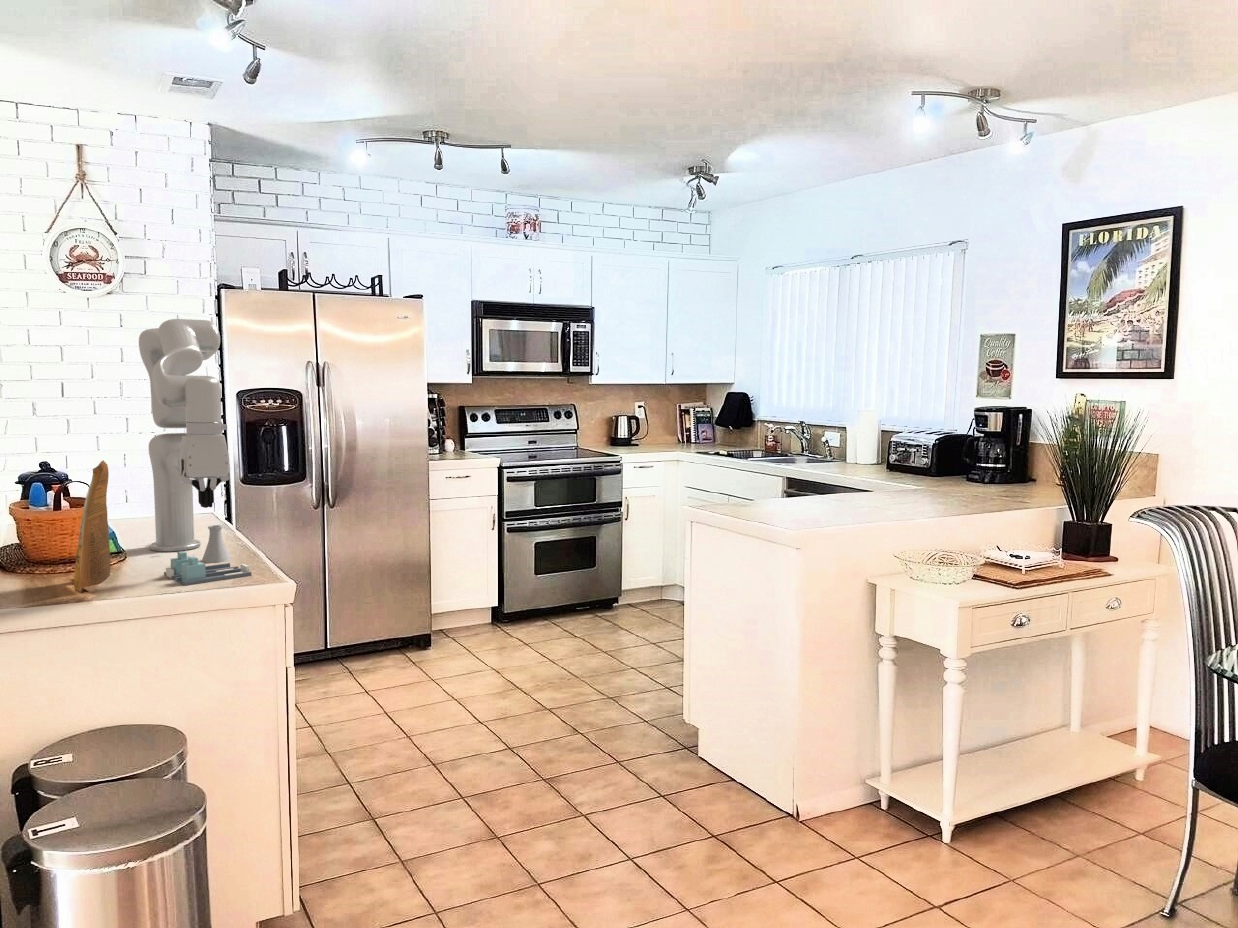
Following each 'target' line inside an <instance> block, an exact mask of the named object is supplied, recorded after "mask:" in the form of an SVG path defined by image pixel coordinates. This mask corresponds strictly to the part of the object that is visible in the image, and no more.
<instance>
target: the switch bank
mask: <svg viewBox="0 0 1238 928" xmlns="http://www.w3.org/2000/svg"><path fill="white" fill-rule="evenodd" d="M205 570H206V578H203V579H196V580H189V581H182V573H181V574H180V575H174V570H173V569H171V567H168V566H167V567H166V568H165V571H163V576H164V577H166V578H168V579H170V580H173V581H174V582H176V583H178V584H181V585H183V586H185V587H188V586H194V585H196V586H197V585H202V584H207V583H213V582H214V583H215V582H221V581H227V580H234V579H240V578H247V577H253V575H252V571H250V566H249V565H247V564H245V563H240V567H239V566H236V565H235V566H231V563H230V562H224V563H219V564H218V563H216V564H212V565H205Z"/></svg>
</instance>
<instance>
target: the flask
mask: <svg viewBox="0 0 1238 928" xmlns="http://www.w3.org/2000/svg"><path fill="white" fill-rule="evenodd" d="M222 528H224V527H223V525H221V524H213V525H209V526H208V527H207V529H208V530H209V536H208V542H207V544H206V548H205V551H204V554H203V556H202V559H201V561H200V562H202V563H205V564H206V563H207V564H214V563H215V564H218V563H219V564H221V563H226V562H229V561H230V560H231V559H232V558H231V555H230V553H229V551H228V549H227V546H226V544H225V541H224V537H223V535H222Z"/></svg>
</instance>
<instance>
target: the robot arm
mask: <svg viewBox="0 0 1238 928" xmlns="http://www.w3.org/2000/svg"><path fill="white" fill-rule="evenodd" d="M220 345H221V335H220V331H219V328H218V327H217V325H216V324H215V323H214V322H213V321H210V320H208V319H207V320H206V319H189V318H172V319H171V318H170V319H168V320H165V321H163V322H162V323H161V324H160V325H159V327H158V328H155V327H154V328H149V329H145V330H143V331H142V332H140V334H139V337H138V349H139V350H138V351H139V354H140V357H141V361H142V363H143V365H144V367H145V369H146V372H147V374H148V376H149V383H150V399H151V411H152V412H151V413H152V414H151V415H152V419H153V421H154V424H155V426H157V427H159V428H160V429H161V428H163V429H186V430H185V431H186V432H170V433H161V434H157V435H155V436H153V437H151V439H150V441H149V443H148V454H149V459H150V460H149V461H150V465H151V472H152V477H153V478H152V479H153V497H154V499H153V500H154V501H153V502H154V522H155V542H152V543H150V544H149V549H150V550H152V551H155V552H181V551H186V550H187V551H188V550H192V549H197V548H199V547H201V545H202V544H201V541H200V540H199V539H195V524H194V523H195V522H194V521H195V519H194V495H193V487H194V488H195V489H196V490H197V494H198V495H197V496H198V499H197V500H198V504H199V505H200V507H202V508H205V509H206V508H213V504H214V503H215V490H216V488H217V487H218V486H219V484H221V483H224V482H226V481H227V482H228V481H229V480H230V475H229V473H230V459H229V458H230V457H229V452H228V446H227V445H228V444H227V440H226V437H225V435H224V434H222V433H223V431H226V430H228V425H227V424H224V423H223V421H222V408H221V407H222V406H221V398H222V393H223V392H222V390H223V389H222V386H221V383H220V381H219V380H218V378H215V377H214V376H211V375H191V374H193V373H194V372H196V371H197V370H199V369H200V368H201V366H202V364H203V361H207V360H209V359H210V358H211V357H212V356H214V355H215V354H216V353H217V351H218V350H219V348H220ZM205 479H206V482H205ZM205 483H206V485H205Z"/></svg>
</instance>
